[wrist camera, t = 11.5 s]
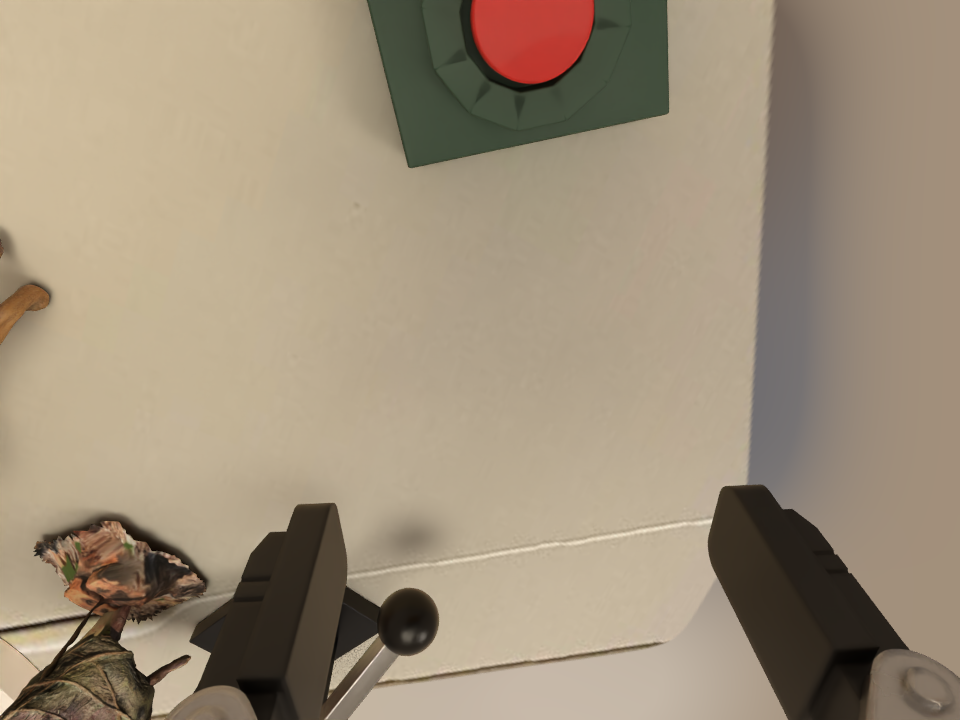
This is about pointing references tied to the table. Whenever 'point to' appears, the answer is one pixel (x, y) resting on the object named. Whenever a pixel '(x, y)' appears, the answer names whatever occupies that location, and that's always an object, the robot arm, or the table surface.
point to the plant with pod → (105, 627)
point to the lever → (386, 648)
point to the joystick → (13, 674)
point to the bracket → (351, 632)
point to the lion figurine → (20, 305)
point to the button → (531, 36)
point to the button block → (505, 103)
